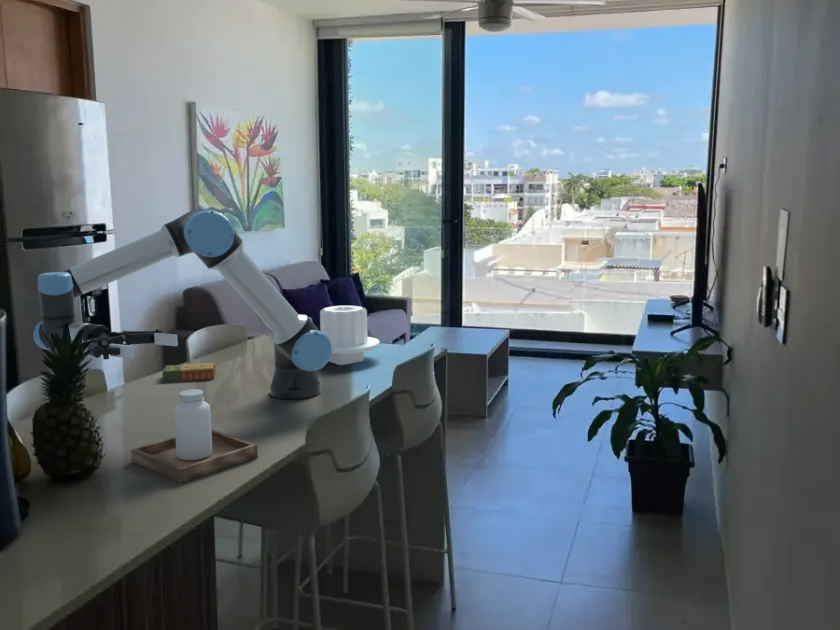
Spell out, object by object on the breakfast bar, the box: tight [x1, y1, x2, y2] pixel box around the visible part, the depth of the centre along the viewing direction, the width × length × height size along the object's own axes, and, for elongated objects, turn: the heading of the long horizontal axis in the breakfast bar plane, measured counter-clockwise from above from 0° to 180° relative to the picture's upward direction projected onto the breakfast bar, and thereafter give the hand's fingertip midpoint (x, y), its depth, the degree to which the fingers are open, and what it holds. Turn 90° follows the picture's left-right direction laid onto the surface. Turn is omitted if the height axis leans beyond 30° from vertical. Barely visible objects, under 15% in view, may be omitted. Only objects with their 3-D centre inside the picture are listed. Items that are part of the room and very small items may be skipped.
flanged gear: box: [319, 305, 381, 366], centre depth 270 cm, size 25×25×19 cm
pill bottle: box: [173, 388, 212, 460], centre depth 173 cm, size 8×8×15 cm
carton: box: [162, 362, 217, 383], centre depth 249 cm, size 8×16×4 cm, turn 101°
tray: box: [130, 428, 259, 484], centre depth 174 cm, size 20×20×3 cm
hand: (155, 346), depth 174 cm, fingers open, 13 cm apart
